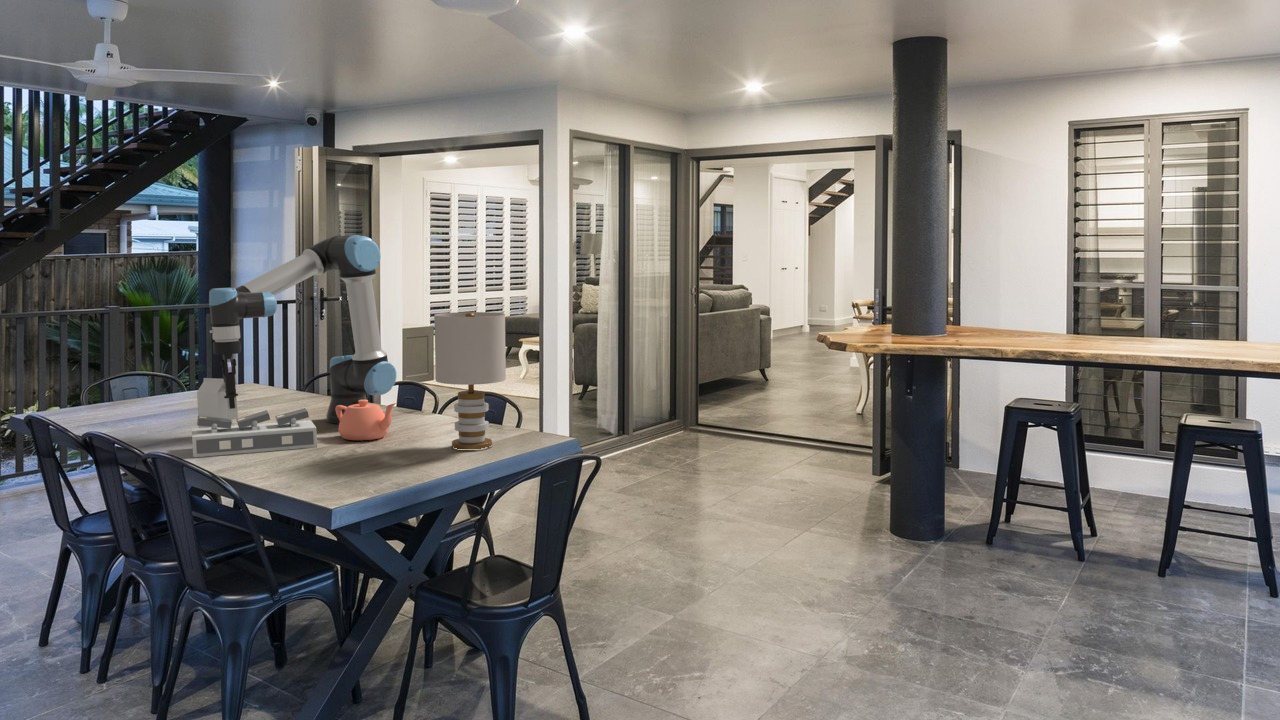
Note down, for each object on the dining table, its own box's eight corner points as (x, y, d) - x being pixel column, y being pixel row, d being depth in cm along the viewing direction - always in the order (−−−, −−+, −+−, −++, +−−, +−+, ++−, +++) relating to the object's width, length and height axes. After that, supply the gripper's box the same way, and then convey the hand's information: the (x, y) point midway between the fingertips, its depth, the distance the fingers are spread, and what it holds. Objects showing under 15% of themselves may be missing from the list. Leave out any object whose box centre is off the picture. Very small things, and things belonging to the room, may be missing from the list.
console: (311, 438, 294) (310, 416, 294) (317, 447, 281) (316, 424, 281) (192, 448, 280) (191, 425, 279) (193, 457, 267) (192, 434, 266)
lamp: (431, 443, 289) (428, 311, 284) (497, 438, 297) (495, 310, 292) (444, 456, 269) (441, 316, 265) (514, 451, 278) (513, 314, 273)
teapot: (409, 435, 300) (408, 398, 299) (383, 444, 286) (382, 405, 284) (350, 431, 306) (349, 394, 305) (322, 440, 292) (320, 401, 291)
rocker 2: (307, 415, 289) (304, 407, 289) (309, 418, 284) (307, 410, 283) (277, 423, 286) (274, 415, 285) (279, 427, 280) (276, 419, 280)
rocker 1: (229, 426, 280) (230, 418, 280) (230, 430, 274) (231, 421, 274) (196, 423, 276) (198, 414, 276) (197, 427, 270) (198, 418, 270)
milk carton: (219, 440, 292) (216, 380, 290) (199, 439, 293) (196, 379, 291) (233, 435, 299) (230, 377, 296) (213, 434, 300) (210, 376, 298)
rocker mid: (269, 417, 285) (266, 409, 284) (271, 421, 279) (268, 412, 278) (238, 426, 281) (235, 418, 280) (239, 430, 275) (237, 422, 275)
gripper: (211, 339, 278) (218, 416, 281) (213, 343, 266) (220, 423, 270) (239, 337, 281) (245, 414, 284) (241, 341, 270) (248, 421, 273)
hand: (233, 418), depth 277 cm, fingers closed
